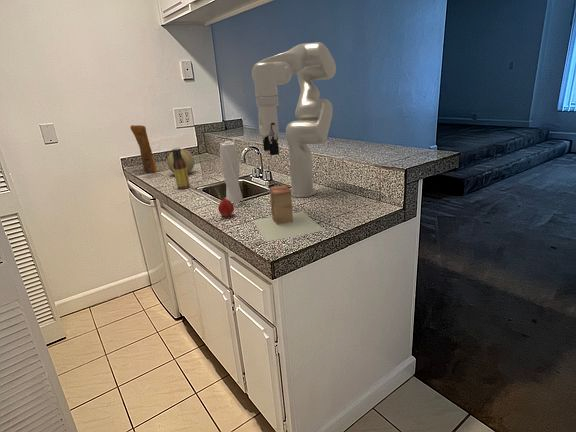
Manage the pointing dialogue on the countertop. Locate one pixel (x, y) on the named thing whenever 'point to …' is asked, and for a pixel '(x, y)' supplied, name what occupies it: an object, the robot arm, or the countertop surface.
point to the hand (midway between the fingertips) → (271, 152)
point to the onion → (226, 207)
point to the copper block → (281, 204)
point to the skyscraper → (230, 170)
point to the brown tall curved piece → (144, 148)
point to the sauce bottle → (180, 170)
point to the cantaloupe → (187, 158)
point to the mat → (287, 227)
